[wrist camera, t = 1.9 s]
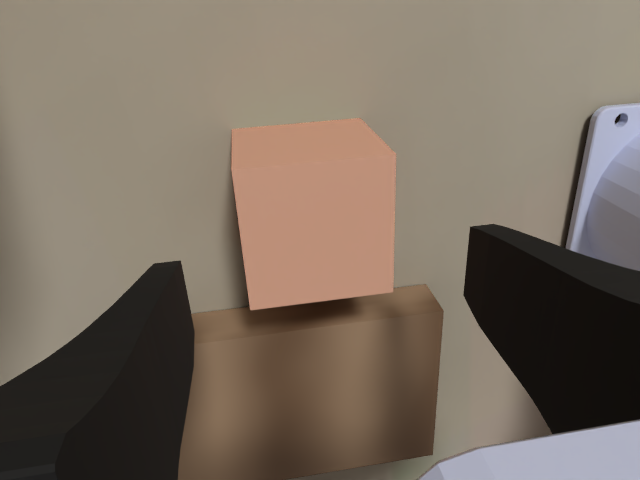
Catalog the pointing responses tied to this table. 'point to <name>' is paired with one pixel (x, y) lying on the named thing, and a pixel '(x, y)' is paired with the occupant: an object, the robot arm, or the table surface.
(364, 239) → the terracotta cube
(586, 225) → the robot arm
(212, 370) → the walnut board
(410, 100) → the table surface
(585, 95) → the table surface
